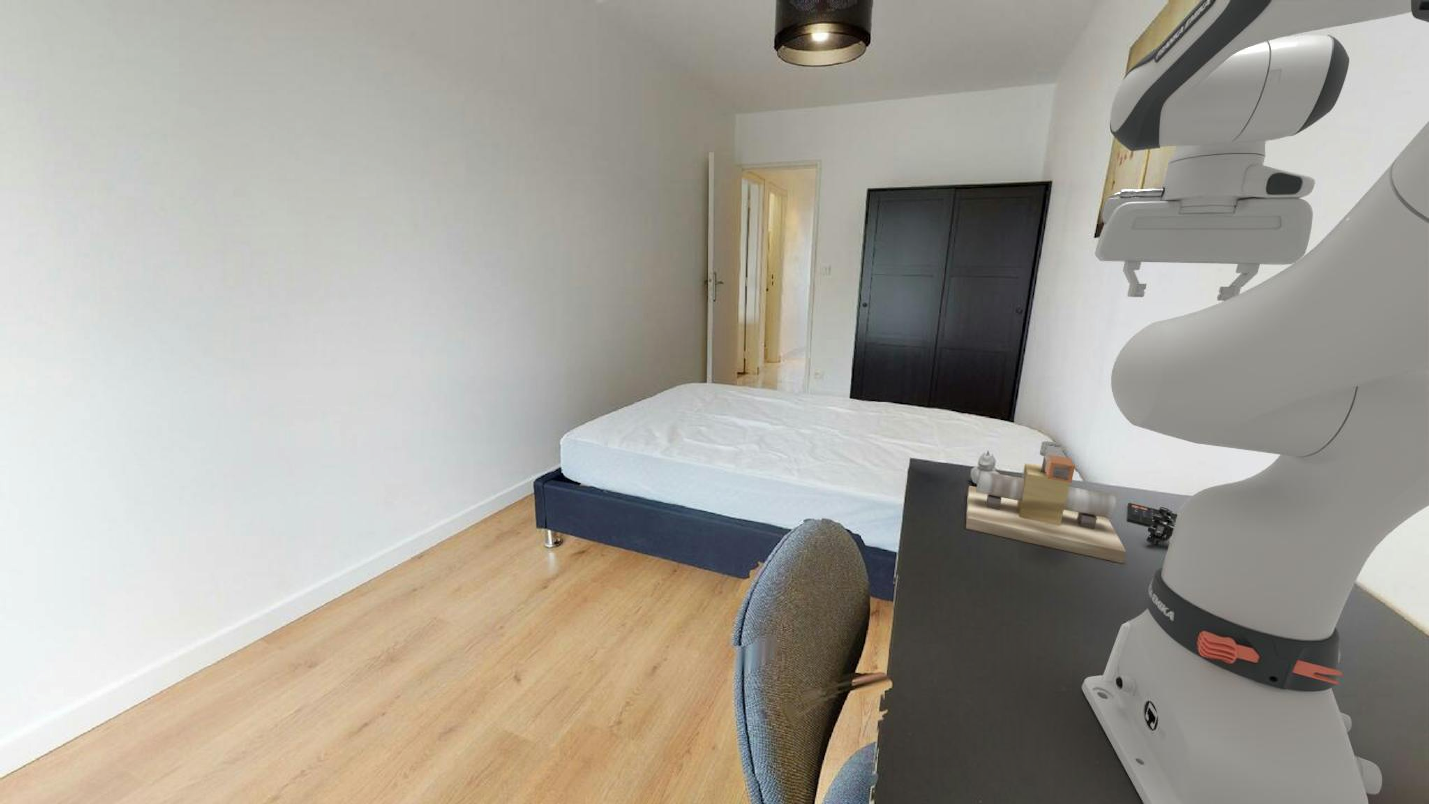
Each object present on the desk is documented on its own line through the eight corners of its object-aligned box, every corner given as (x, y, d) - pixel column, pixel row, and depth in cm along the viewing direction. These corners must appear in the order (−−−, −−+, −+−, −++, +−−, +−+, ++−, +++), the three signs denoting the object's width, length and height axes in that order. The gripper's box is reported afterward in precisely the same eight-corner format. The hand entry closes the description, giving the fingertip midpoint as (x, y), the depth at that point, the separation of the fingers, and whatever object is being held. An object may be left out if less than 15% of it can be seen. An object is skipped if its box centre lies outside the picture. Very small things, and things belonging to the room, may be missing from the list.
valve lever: (1038, 452, 90) (1041, 438, 89) (1058, 456, 88) (1061, 441, 88) (1047, 478, 78) (1051, 462, 77) (1071, 482, 77) (1075, 466, 76)
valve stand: (1123, 563, 79) (1143, 486, 76) (966, 528, 88) (978, 458, 85) (1101, 521, 93) (1117, 455, 90) (967, 495, 102) (977, 434, 99)
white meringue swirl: (963, 484, 108) (970, 448, 106) (976, 477, 112) (982, 442, 110) (991, 493, 104) (997, 455, 102) (1003, 485, 108) (1010, 449, 106)
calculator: (1127, 506, 101) (1131, 492, 100) (1207, 526, 94) (1212, 511, 93) (1126, 522, 94) (1130, 507, 93) (1213, 545, 87) (1218, 529, 86)
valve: (1256, 573, 78) (1158, 538, 88) (1269, 533, 77) (1168, 502, 86) (1242, 585, 75) (1142, 547, 85) (1256, 544, 73) (1152, 510, 83)
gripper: (1112, 185, 66) (1089, 295, 70) (1335, 178, 58) (1297, 304, 61) (1102, 193, 72) (1081, 294, 75) (1304, 188, 63) (1270, 302, 66)
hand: (1179, 299), depth 68 cm, fingers open, 8 cm apart
